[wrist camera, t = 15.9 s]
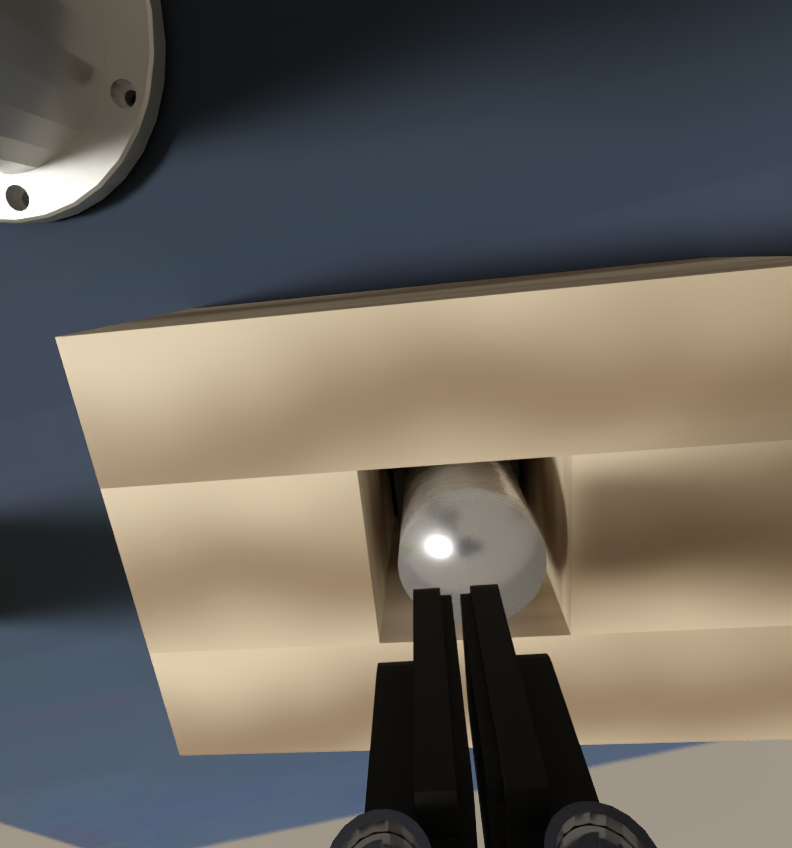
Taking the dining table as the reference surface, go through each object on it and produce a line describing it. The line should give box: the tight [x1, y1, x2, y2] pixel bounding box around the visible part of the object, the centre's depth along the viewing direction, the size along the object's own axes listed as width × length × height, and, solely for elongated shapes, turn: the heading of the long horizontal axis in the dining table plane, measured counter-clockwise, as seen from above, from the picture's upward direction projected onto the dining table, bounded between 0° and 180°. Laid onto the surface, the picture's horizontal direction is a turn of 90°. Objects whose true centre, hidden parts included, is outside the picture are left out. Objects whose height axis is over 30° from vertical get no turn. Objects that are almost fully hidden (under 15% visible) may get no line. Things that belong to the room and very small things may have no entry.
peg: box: [398, 460, 547, 626], centre depth 17 cm, size 4×4×7 cm
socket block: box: [55, 256, 792, 755], centre depth 18 cm, size 14×20×8 cm
